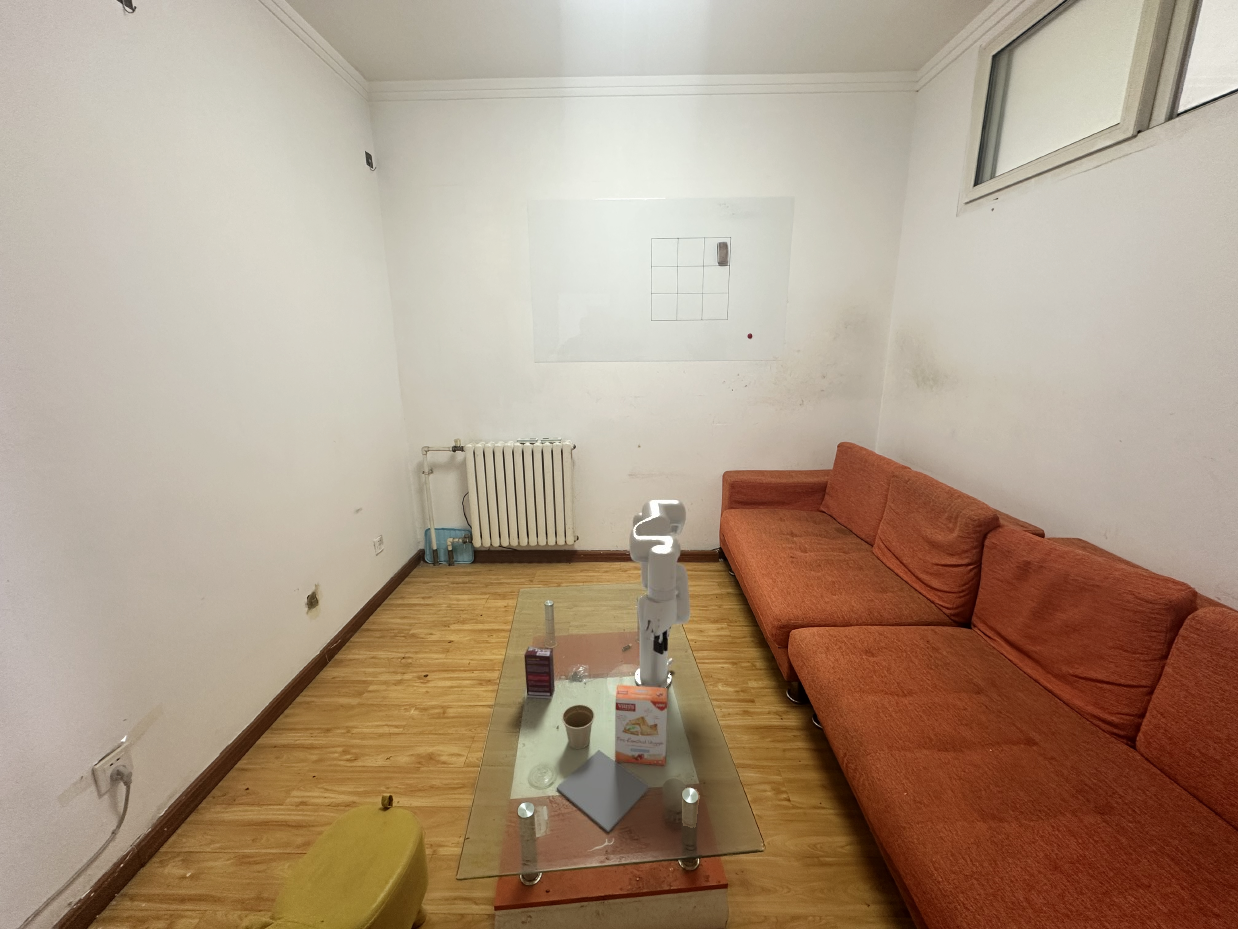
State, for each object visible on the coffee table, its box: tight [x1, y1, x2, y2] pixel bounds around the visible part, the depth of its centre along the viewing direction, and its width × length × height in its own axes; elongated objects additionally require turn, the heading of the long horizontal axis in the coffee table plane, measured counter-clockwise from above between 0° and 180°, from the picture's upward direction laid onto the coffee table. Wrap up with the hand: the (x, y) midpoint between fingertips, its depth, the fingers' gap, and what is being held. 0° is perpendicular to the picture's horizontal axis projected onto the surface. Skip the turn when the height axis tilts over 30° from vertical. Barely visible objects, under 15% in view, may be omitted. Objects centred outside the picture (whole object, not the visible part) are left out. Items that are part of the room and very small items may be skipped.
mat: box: [556, 749, 650, 833], centre depth 127 cm, size 16×18×1 cm
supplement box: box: [523, 646, 556, 700], centre depth 160 cm, size 9×5×16 cm, turn 85°
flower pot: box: [561, 704, 596, 750], centre depth 141 cm, size 9×9×9 cm
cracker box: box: [614, 684, 668, 766], centre depth 134 cm, size 14×6×21 cm, turn 85°
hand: (660, 650), depth 137 cm, fingers closed
